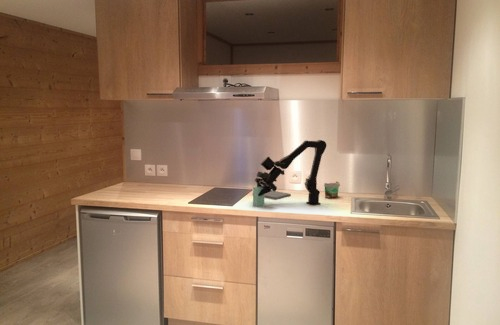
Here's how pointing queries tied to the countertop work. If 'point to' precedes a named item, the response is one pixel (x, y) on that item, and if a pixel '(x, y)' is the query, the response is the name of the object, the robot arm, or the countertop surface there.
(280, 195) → the mat
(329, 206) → the countertop surface
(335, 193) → the food container
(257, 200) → the block
